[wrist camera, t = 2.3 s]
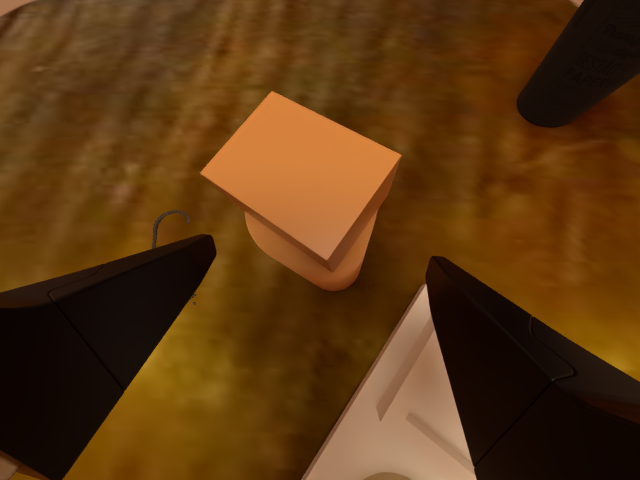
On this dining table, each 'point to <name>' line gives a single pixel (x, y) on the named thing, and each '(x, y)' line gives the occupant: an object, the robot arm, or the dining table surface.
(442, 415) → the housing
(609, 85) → the drinking cup
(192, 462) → the dining table surface
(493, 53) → the dining table surface
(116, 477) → the dining table surface
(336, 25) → the dining table surface
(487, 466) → the robot arm
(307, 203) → the orange square-topped peg
